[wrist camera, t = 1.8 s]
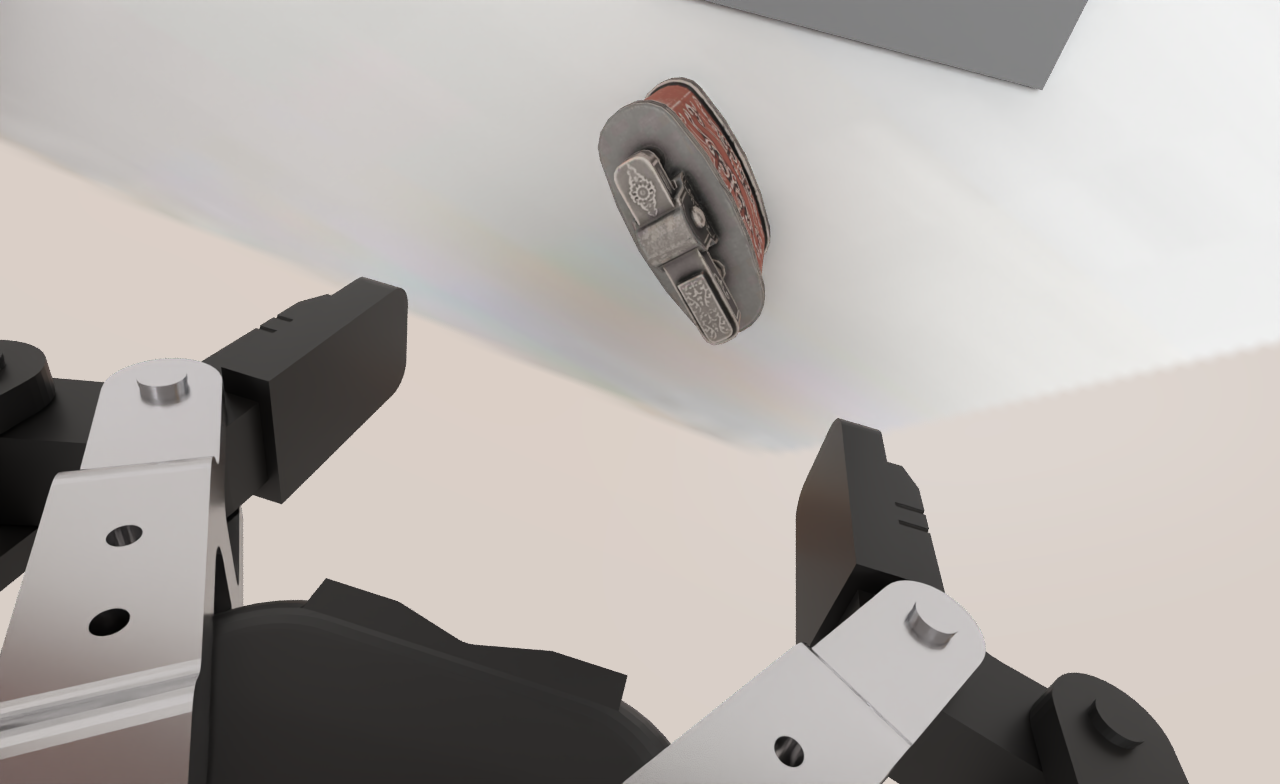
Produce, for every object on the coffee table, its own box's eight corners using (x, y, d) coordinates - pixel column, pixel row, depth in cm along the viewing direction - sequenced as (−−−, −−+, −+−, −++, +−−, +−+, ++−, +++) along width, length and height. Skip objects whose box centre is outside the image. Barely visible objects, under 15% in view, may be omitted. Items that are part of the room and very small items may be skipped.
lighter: (625, 105, 27) (547, 155, 18) (698, 58, 25) (652, 88, 17) (717, 275, 30) (687, 386, 21) (788, 241, 28) (786, 345, 20)
